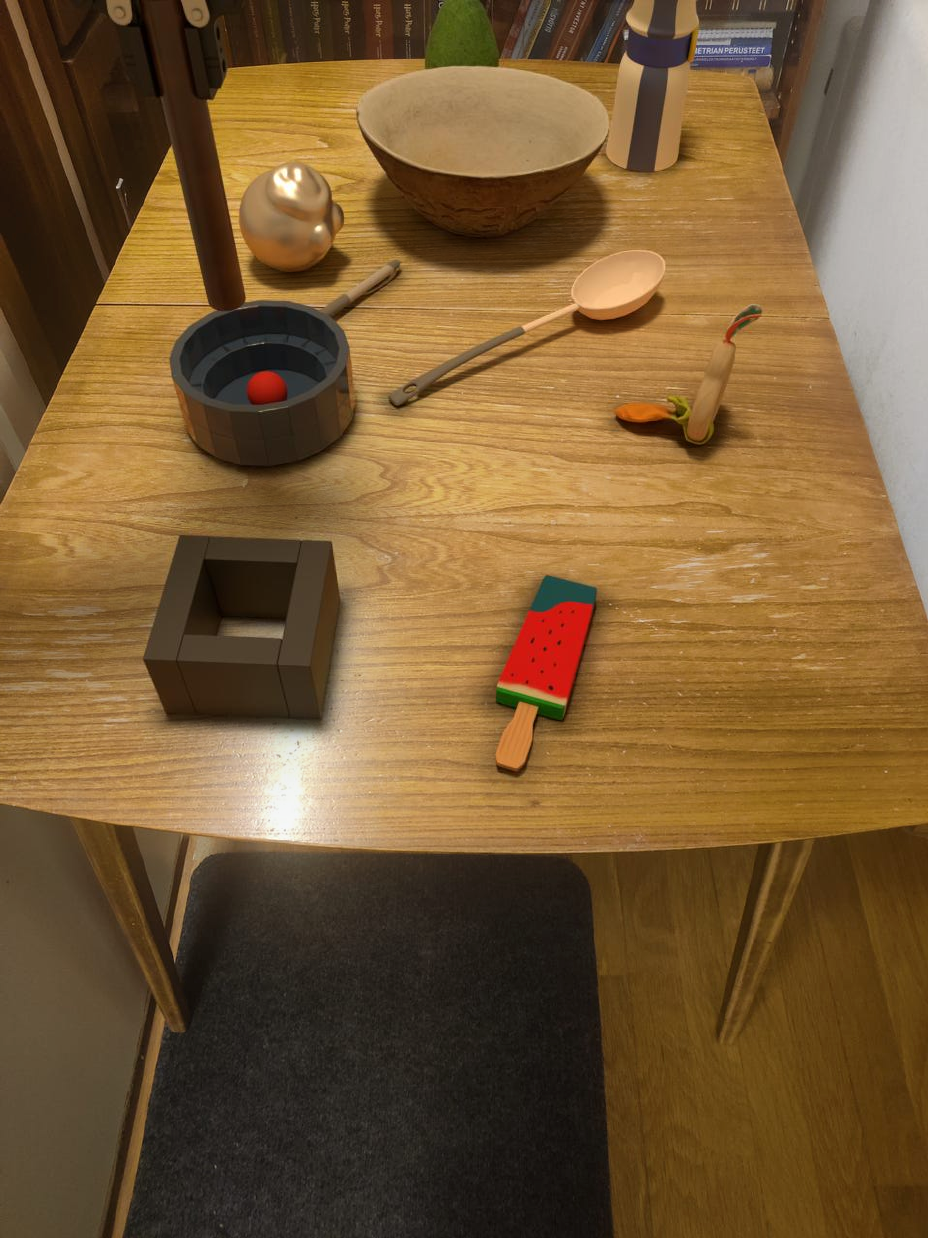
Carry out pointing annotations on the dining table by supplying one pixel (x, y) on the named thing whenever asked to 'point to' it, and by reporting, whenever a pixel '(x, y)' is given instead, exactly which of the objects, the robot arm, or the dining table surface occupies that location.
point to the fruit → (461, 37)
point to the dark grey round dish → (256, 342)
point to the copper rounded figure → (290, 217)
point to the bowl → (482, 143)
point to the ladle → (574, 305)
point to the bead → (266, 388)
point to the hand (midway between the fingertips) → (182, 90)
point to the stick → (194, 153)
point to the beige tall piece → (709, 393)
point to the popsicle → (543, 663)
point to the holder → (245, 666)
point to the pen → (363, 288)
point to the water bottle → (653, 84)
